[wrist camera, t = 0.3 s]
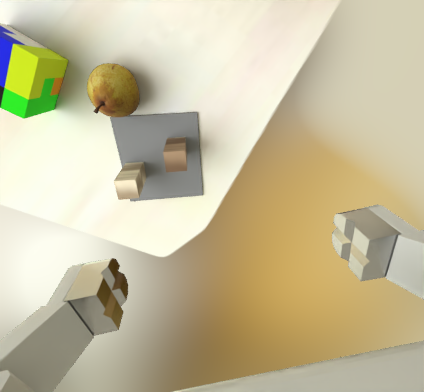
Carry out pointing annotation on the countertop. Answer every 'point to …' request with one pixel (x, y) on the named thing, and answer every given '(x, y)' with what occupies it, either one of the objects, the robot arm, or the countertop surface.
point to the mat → (160, 152)
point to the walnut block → (175, 154)
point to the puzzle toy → (28, 74)
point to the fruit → (113, 90)
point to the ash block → (130, 180)
